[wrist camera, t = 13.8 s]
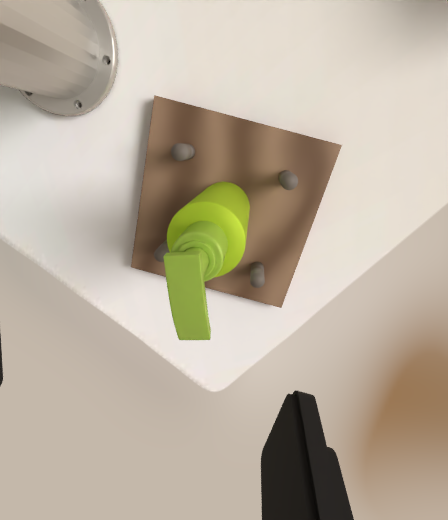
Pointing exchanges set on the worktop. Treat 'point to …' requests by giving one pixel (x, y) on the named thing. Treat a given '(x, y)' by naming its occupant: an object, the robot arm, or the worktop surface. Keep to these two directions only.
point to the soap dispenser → (203, 253)
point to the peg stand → (243, 175)
